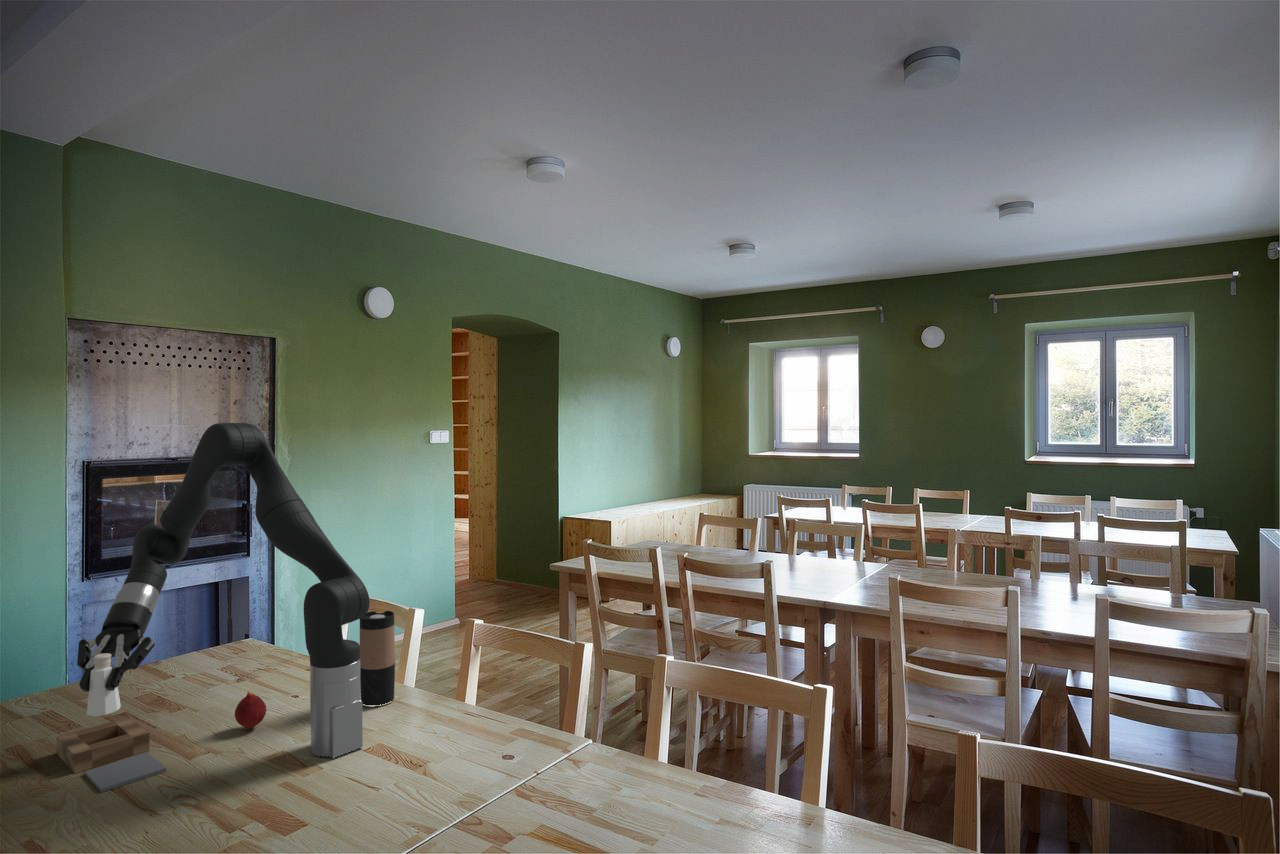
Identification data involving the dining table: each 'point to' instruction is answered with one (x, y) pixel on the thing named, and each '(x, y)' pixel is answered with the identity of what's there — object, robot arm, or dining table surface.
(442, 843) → the dining table surface
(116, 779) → the rubber pad
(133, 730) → the socket block
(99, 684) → the pepper shaker
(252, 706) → the onion
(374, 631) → the travel mug
